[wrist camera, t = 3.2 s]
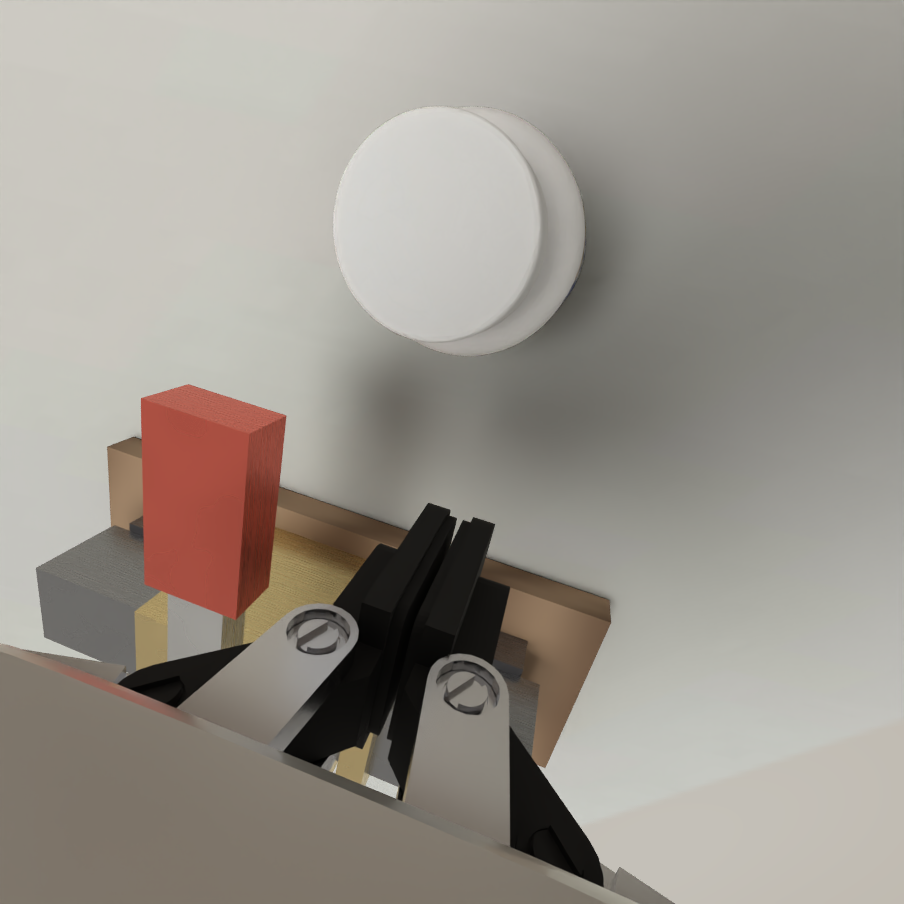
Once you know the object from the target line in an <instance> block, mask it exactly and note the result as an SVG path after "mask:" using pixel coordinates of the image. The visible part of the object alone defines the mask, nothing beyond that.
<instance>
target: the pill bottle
mask: <svg viewBox="0 0 904 904" xmlns="http://www.w3.org/2000/svg"><path fill="white" fill-rule="evenodd" d="M333 237H334V245H335V252H336V256H337V259H338V263H339V266H340V269H341V272H342V274H343V277H344V279H345V281H346V283H347V285H348V287H349V289H350V291H351V293H352V294H353V296H354V297H355V299H356V300H357V301H358V303H359V304H360V305H361V306H362V308H363V309H364V310H365V311H366V312H367V313H368V314H369V315H370V316H371V317H372V318H373V319H375V320H376V321H377V322H378V323H380V324H381V325H383V326H384V327H386V328H387V329H389V330H391V331H392V332H394V333H396V334H398V335H401V336H403V337H406V338H409V339H412V340H414V341H416V342H417V343H419V344H421V345H423V346H425V347H427V348H429V349H432V350H435V351H438V352H441V353H445V354H451V355H456V356H480V355H487V354H491V353H496V352H499V351H502V350H505V349H507V348H510V347H512V346H514V345H516V344H518V343H520V342H522V341H524V340H525V339H527V338H528V337H530V336H531V335H533V334H534V333H535V332H536V331H538V330H539V329H540V328H541V327H542V326H543V325H545V324H546V323H547V322H548V320H549V319H550V318H551V317H552V316H553V315H554V314H555V312H556V311H557V310H558V309H559V307H560V306H561V304H562V303H563V302H564V301H565V299H566V298H567V297H568V296H569V294H570V292H571V291H572V289H573V287H574V286H575V284H576V282H577V279H578V277H579V274H580V272H581V269H582V265H583V261H584V256H585V246H586V225H585V214H584V206H583V202H582V198H581V194H580V191H579V188H578V185H577V183H576V180H575V178H574V176H573V174H572V172H571V170H570V168H569V166H568V164H567V163H566V161H565V159H564V158H563V156H562V155H561V154H560V152H559V151H558V150H557V148H556V147H555V146H554V145H553V144H552V142H551V141H550V140H549V139H548V138H547V137H546V136H545V135H544V134H543V133H542V132H541V131H539V130H538V129H537V128H536V127H534V126H533V125H531V124H530V123H528V122H527V121H525V120H523V119H521V118H520V117H518V116H516V115H514V114H511V113H508V112H505V111H502V110H498V109H494V108H489V107H478V106H477V107H458V108H455V107H449V106H431V107H421V108H417V109H414V110H410V111H407V112H405V113H403V114H398V115H397V116H395V117H394V118H392V119H390V120H388V121H387V122H385V123H384V124H383V125H381V126H379V127H378V128H377V129H376V130H375V131H374V132H372V133H371V134H370V135H369V136H368V137H367V138H366V139H365V140H364V142H363V143H362V144H361V145H360V146H359V148H358V149H357V151H356V152H355V153H354V155H353V156H352V158H351V160H350V162H349V164H348V165H347V167H346V169H345V171H344V173H343V176H342V179H341V182H340V185H339V188H338V191H337V196H336V200H335V207H334V214H333Z"/></svg>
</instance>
